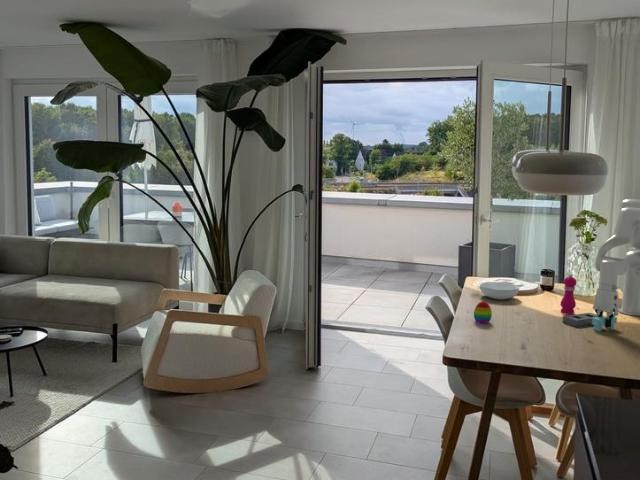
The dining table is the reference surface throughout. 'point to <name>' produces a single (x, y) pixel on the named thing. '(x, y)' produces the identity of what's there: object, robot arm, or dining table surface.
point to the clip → (602, 322)
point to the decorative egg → (482, 312)
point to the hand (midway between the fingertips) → (603, 325)
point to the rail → (579, 319)
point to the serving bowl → (499, 290)
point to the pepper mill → (568, 296)
